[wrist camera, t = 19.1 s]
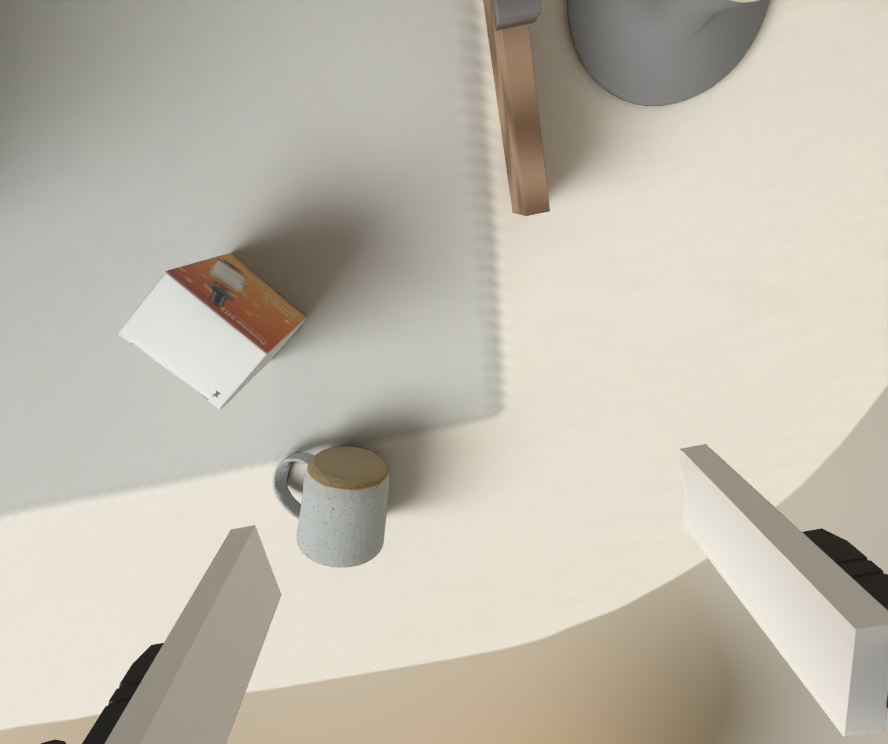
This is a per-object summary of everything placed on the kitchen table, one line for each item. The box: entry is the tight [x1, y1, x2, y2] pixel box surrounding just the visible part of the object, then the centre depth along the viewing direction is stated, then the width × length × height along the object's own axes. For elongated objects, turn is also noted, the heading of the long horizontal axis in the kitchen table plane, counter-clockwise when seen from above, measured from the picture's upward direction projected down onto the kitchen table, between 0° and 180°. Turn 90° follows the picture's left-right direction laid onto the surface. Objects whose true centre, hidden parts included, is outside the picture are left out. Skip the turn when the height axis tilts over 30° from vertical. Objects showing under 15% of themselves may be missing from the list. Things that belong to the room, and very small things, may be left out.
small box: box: [118, 253, 307, 410], centre depth 37 cm, size 8×6×10 cm
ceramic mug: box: [273, 446, 390, 567], centre depth 44 cm, size 11×8×8 cm
